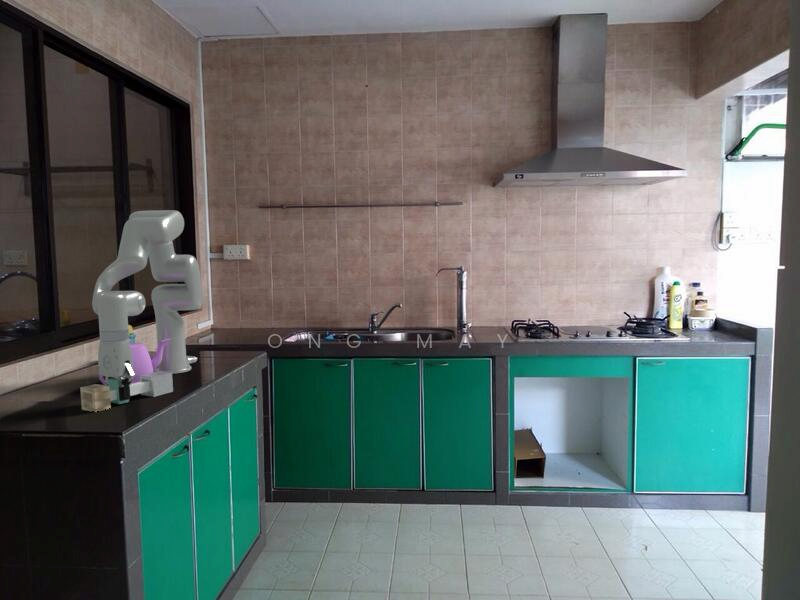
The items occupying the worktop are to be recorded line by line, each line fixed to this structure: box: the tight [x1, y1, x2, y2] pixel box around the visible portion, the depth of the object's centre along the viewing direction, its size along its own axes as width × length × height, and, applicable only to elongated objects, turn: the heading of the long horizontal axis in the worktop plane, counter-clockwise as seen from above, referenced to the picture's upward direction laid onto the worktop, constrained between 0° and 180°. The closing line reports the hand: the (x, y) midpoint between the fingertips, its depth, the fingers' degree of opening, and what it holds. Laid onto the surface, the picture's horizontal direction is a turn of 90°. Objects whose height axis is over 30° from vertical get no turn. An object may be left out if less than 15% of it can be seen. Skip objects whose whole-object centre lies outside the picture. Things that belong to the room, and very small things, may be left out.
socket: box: [79, 383, 112, 413], centre depth 169 cm, size 4×6×6 cm
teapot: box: [98, 339, 170, 386], centre depth 200 cm, size 23×21×15 cm
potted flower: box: [128, 324, 137, 343], centre depth 243 cm, size 14×8×15 cm, turn 12°
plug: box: [108, 378, 151, 405], centre depth 176 cm, size 18×5×7 cm, turn 150°
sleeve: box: [140, 371, 174, 398], centre depth 186 cm, size 7×6×6 cm
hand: (118, 398), depth 175 cm, fingers closed on plug, 4 cm apart
